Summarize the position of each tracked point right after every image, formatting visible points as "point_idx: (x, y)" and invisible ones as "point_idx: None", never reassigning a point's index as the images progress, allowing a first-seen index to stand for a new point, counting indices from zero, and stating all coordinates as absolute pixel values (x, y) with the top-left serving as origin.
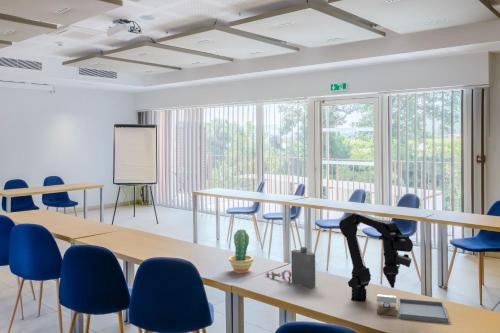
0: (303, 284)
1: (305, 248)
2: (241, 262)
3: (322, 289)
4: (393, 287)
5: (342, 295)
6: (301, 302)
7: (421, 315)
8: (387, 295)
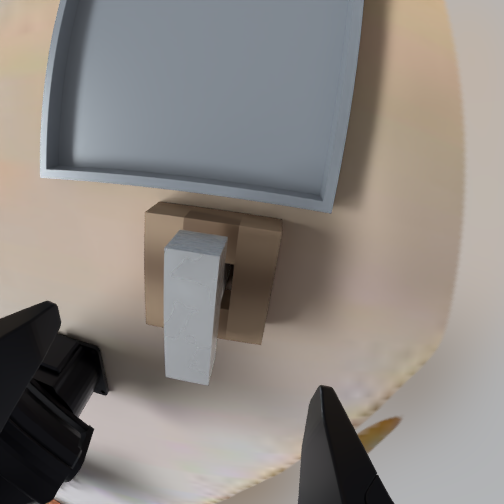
0: None
1: None
2: None
3: None
4: (331, 394)
5: None
6: (190, 495)
7: (352, 62)
8: (172, 317)
